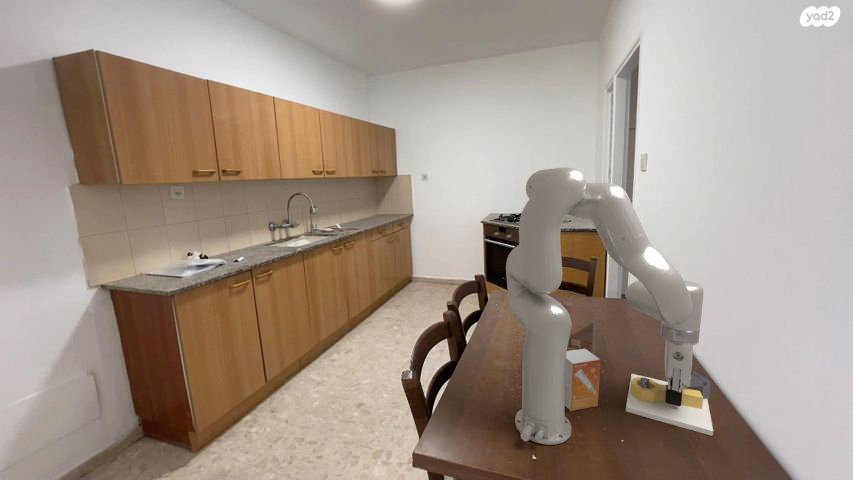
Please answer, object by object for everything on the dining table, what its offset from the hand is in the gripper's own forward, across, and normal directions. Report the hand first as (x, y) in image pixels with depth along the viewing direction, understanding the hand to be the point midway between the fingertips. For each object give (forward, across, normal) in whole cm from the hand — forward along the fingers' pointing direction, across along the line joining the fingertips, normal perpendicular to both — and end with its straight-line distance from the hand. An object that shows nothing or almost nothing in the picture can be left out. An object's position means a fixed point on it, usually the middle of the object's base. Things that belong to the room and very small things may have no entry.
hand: (673, 402), depth 88 cm
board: (+2, +3, +1) cm, 4 cm away
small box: (+3, -8, +20) cm, 22 cm away
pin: (+2, +1, +6) cm, 7 cm away
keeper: (+2, +9, -3) cm, 10 cm away
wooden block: (+3, +16, +26) cm, 31 cm away
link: (+1, +3, +2) cm, 4 cm away
